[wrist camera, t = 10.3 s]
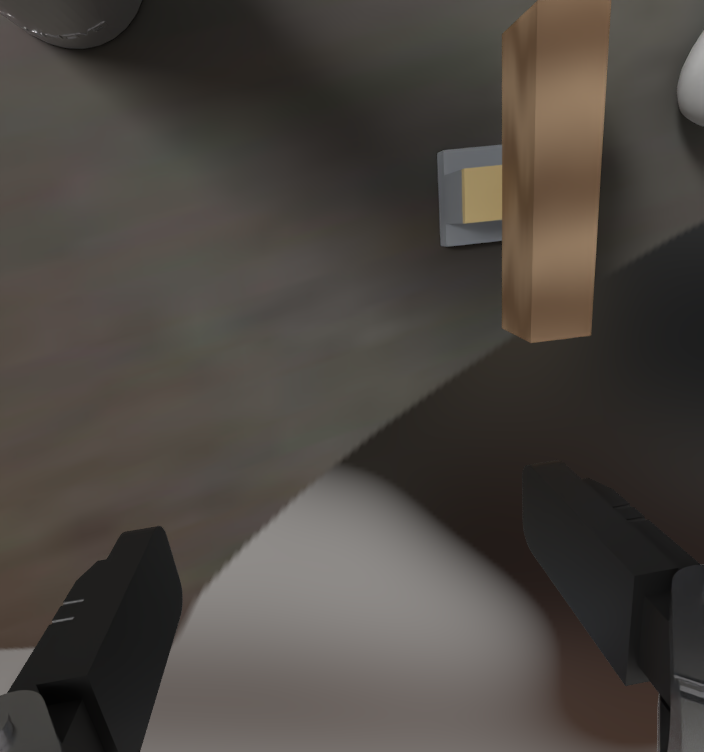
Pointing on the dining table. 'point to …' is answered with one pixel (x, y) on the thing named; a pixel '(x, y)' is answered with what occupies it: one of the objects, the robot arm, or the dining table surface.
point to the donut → (693, 84)
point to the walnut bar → (552, 166)
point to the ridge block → (470, 195)
